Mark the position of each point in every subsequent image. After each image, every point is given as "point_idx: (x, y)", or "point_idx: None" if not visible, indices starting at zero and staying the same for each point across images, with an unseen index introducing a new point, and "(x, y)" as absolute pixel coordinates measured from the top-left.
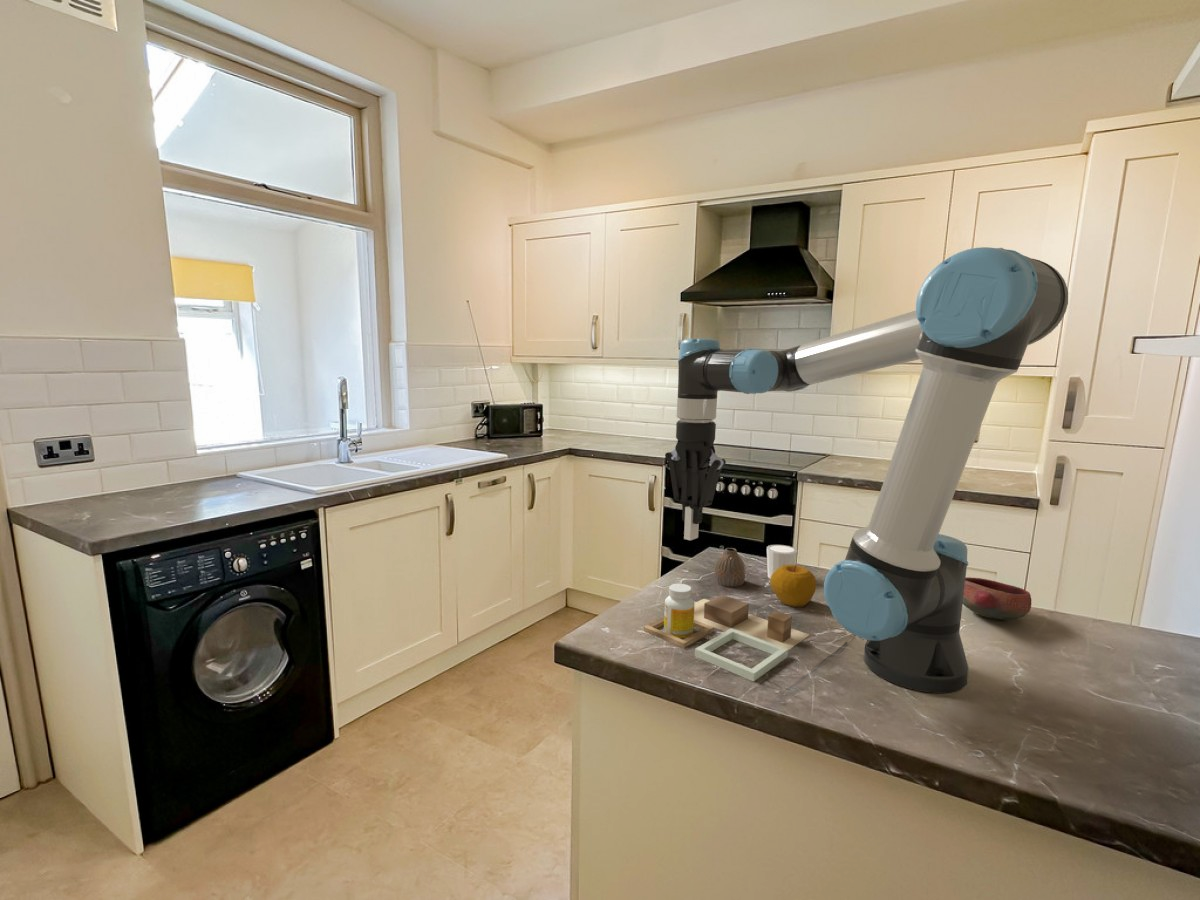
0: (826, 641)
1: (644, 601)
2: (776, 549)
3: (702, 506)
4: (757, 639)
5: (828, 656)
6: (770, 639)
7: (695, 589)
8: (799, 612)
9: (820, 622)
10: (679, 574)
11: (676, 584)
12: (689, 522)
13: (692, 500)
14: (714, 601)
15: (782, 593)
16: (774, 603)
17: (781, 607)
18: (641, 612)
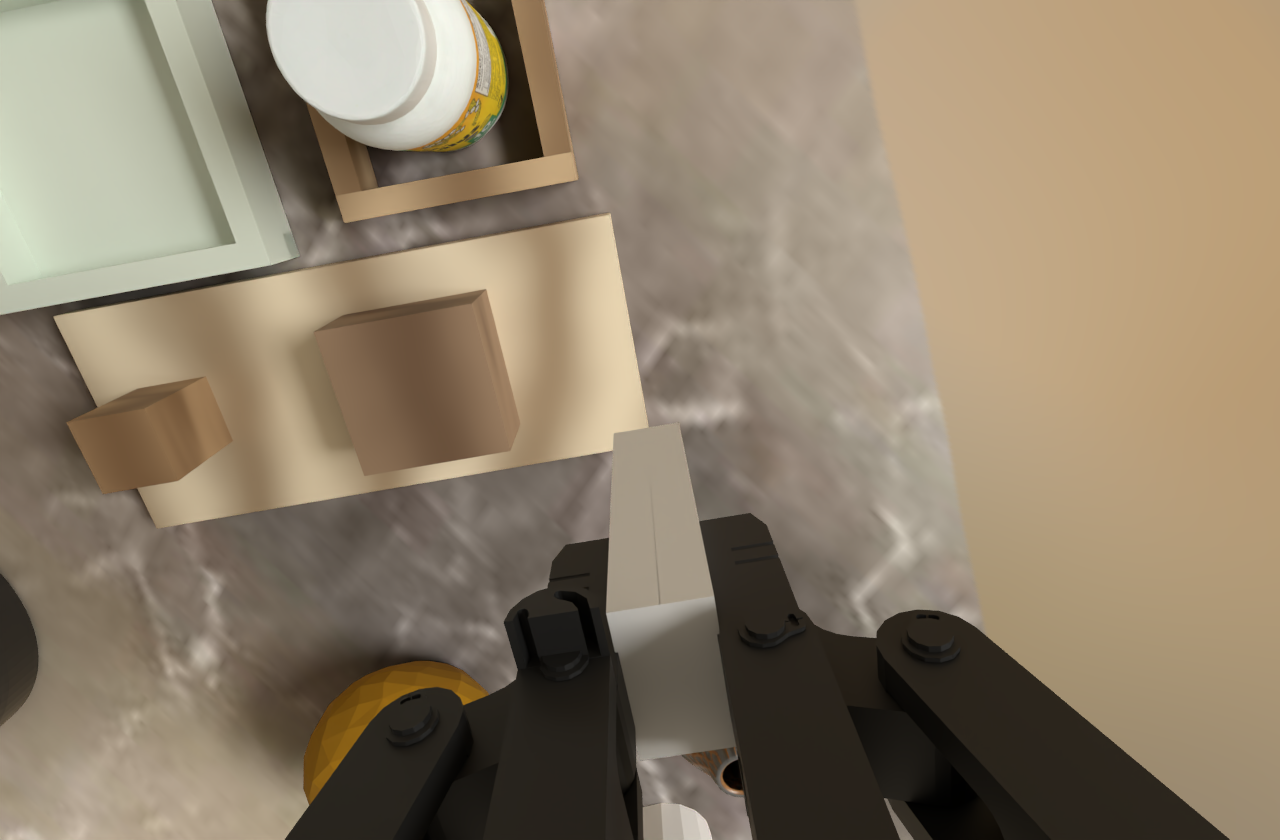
0: (148, 560)
1: (842, 223)
2: None
3: (417, 692)
4: (124, 278)
5: (46, 474)
6: (182, 371)
7: (787, 512)
8: (385, 666)
9: (283, 659)
10: (954, 571)
11: (406, 55)
12: (629, 507)
13: (598, 707)
14: (463, 361)
15: (392, 671)
16: (495, 656)
17: (453, 649)
18: (755, 118)
